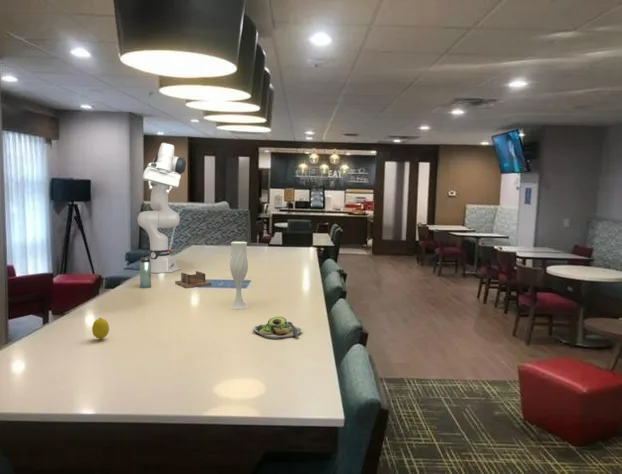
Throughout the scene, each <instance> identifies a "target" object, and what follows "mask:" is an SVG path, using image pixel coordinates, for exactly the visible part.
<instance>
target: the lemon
mask: <svg viewBox="0 0 622 474" xmlns="http://www.w3.org/2000/svg"><path fill="white" fill-rule="evenodd" d="M91 329H92V330H91V331H92V335H93V337H95V338H96V339H99V340H101V341H102V340H103V339H104V338H106V337H107V335H108V334H109V331H110V325H109V322H108V321H107V319H104V318H102V317H98V319H96V320H95V321H94V322H93V324H92V327H91Z"/></svg>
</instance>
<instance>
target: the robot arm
mask: <svg viewBox="0 0 622 474" xmlns="http://www.w3.org/2000/svg"><path fill="white" fill-rule="evenodd" d="M154 156H155V157H154V159H153V162H149V163H147V166H146V168H145V169H144V171H143V173H142V181H144V182H145V183H147V185H148V190H150V191H151V193H150V208H151V209H152V210H145V211H140V212H139V214H138V216H137V223H138V225H139V226H140V227H141V228H142V229H143V230H145V232H146V234H147V235H148V238H149V258H150V261H151V274H153V273H155V274H161V273H163V274H165V273H174V272H177V271H179V270H182V267H180V266H178V260H177V259H176V258H174V257H173V256H172V255H171V253H173V249H171V248H169V237H168V236H167V235H166V234H164V233H162V232H160V231H159V230H158V229H171V228H176V227H178V226H179V225H180V222H181V217H180V214H179V213H178V212H176V211H175V210H173V209H172V208H171V206H170V205H169V194H170V191H171V190H172V189H174V190H175V189H176V190H177V189H178V188H179V187H180V180H181V178H182V177H181V175H182V174H184V173H185V171H186V169H187V160H186V159H185V158H184V157H181V156H176V155H175V145H173V144H172V143H169V142H162V143H161V144H160V145H159V148H158V151H157V152H156V153H155V155H154ZM152 184H153V186H152Z"/></svg>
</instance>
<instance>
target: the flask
mask: <svg viewBox="0 0 622 474" xmlns="http://www.w3.org/2000/svg"><path fill="white" fill-rule="evenodd" d="M139 278H140V279H139V282H140V283H139V284H140V285H139V286H140V287H139V288H140V289H150V288H152V273H151V261H150V257H147V256H146V257H140V262H139Z"/></svg>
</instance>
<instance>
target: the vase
mask: <svg viewBox="0 0 622 474" xmlns="http://www.w3.org/2000/svg"><path fill="white" fill-rule="evenodd" d="M230 244H231V253H230V256H231V258H230V261H229V267H230V268H229V270H230V273H231V277H232V279H233V282H234V284H235V288H236V289H235V290H236V295H235V298H234V301H233V303H232V304H231V305H230V306H229V309H233V310H245V309H248V308H249V306H248V305H247V304H245V302H244V299H243V296H242V287H243V283H244V280H245V278H246V276H247V273H248V270H249V269H248V268H249V262H248V253H247V252H248V251H247V245H248V242H247V241H230Z"/></svg>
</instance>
